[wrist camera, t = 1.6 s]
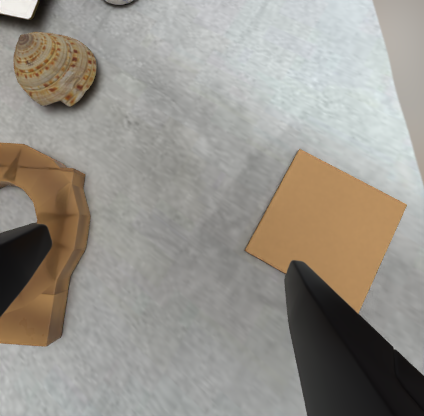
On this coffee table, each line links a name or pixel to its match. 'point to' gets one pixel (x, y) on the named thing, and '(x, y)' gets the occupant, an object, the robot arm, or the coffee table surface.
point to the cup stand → (61, 242)
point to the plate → (19, 8)
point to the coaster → (328, 226)
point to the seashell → (53, 67)
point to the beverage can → (118, 1)
